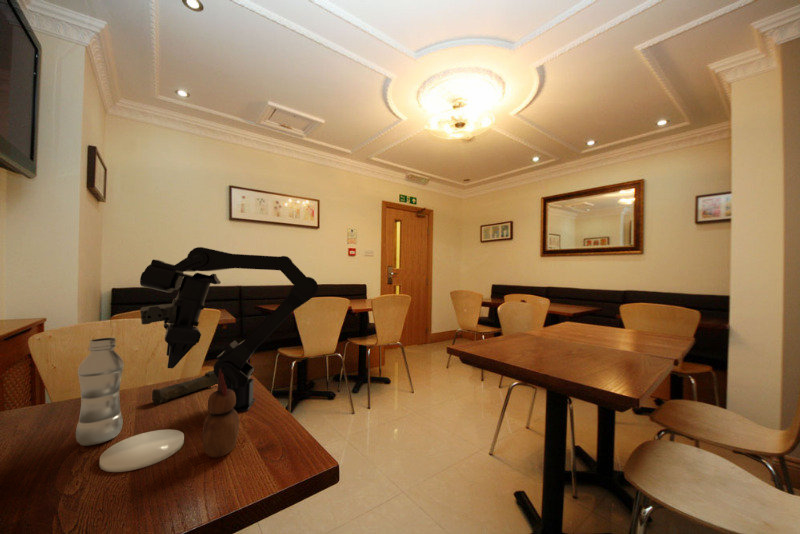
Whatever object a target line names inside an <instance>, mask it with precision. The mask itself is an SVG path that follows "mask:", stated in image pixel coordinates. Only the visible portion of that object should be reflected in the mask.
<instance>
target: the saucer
mask: <svg viewBox="0 0 800 534" xmlns="http://www.w3.org/2000/svg"><path fill="white" fill-rule="evenodd" d="M184 444H185V434H184V433H183V432H182V431H180V430H177V429H157V430H152V431H151V430H150V431H148V432H142V433H139V434H136V435H133V436H130V437H127V438H125V439H123V440H121V441H118V442H117V443H114V444H113V445H112V446H110V447H108V448H107V449H105V451H103V452H102V453H101V454H100V457H99V468H100V469H101V470H103V471H104V472H108V473H124V472H131V471H134V470H139V469H143V468H146V467H149V466H152V465H155V464H157V463H160V462H161V461H164V460H166V459H168V458H169V457H171V456H172V455H174V454H175V453H177V452H178V451H180V450H181V448H182V447H183V445H184Z"/></svg>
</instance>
